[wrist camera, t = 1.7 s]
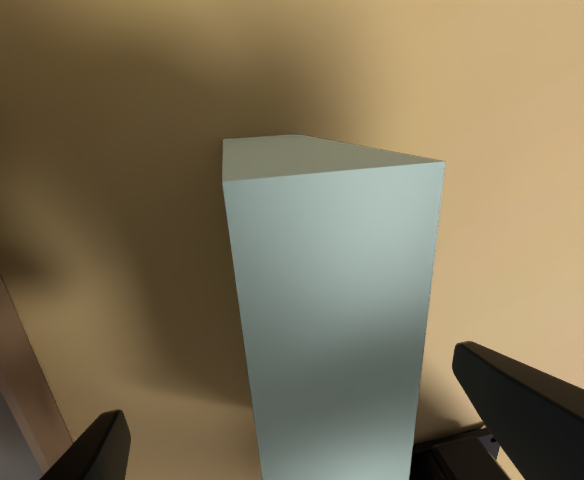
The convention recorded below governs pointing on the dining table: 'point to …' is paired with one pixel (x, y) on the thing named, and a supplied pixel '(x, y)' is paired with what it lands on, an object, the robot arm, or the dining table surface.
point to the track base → (25, 405)
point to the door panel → (332, 299)
